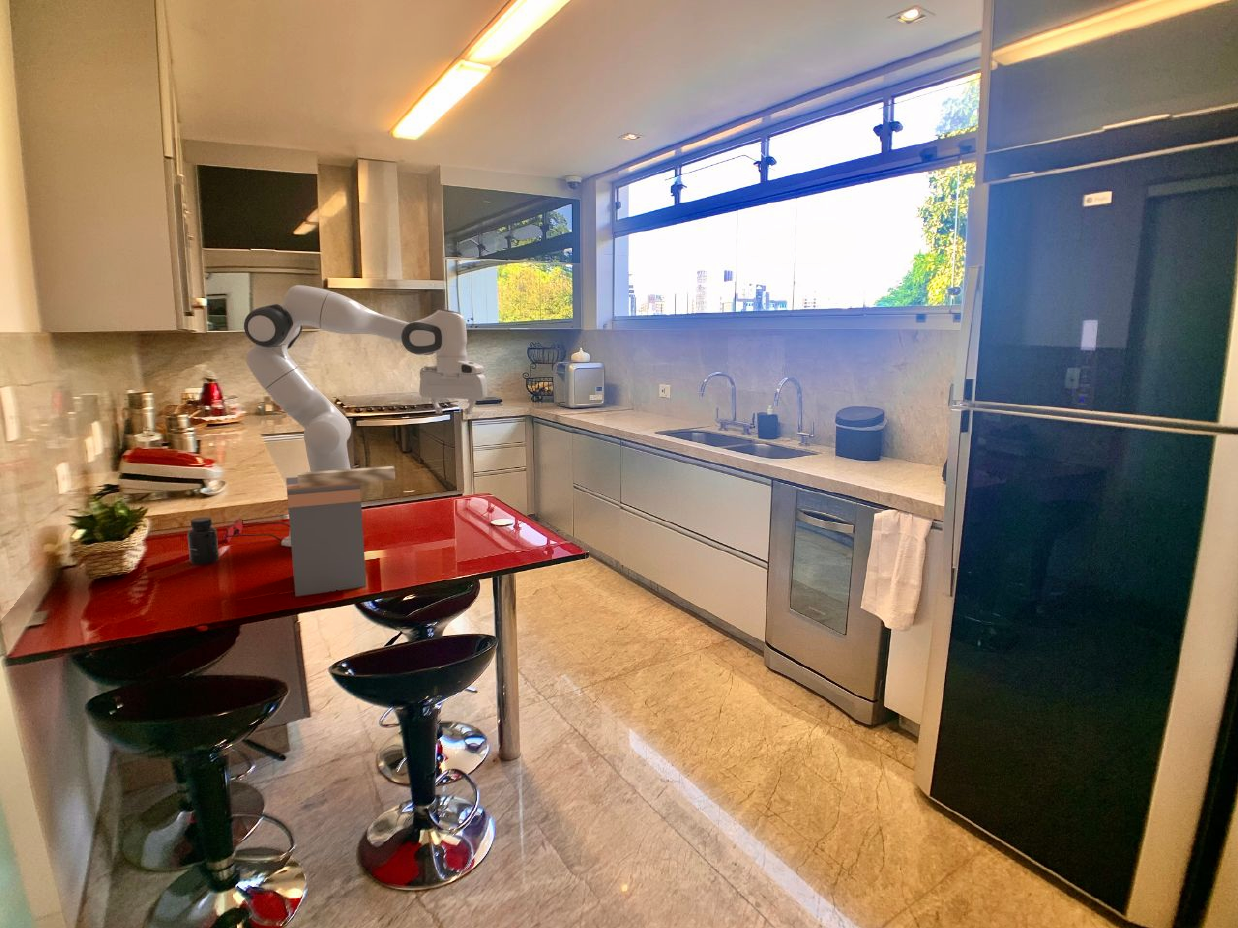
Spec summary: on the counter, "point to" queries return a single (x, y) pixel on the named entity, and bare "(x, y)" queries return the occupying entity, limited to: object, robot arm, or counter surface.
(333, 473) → the maple bar
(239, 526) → the glasses
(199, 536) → the supplement bottle
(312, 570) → the stand
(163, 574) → the counter surface
